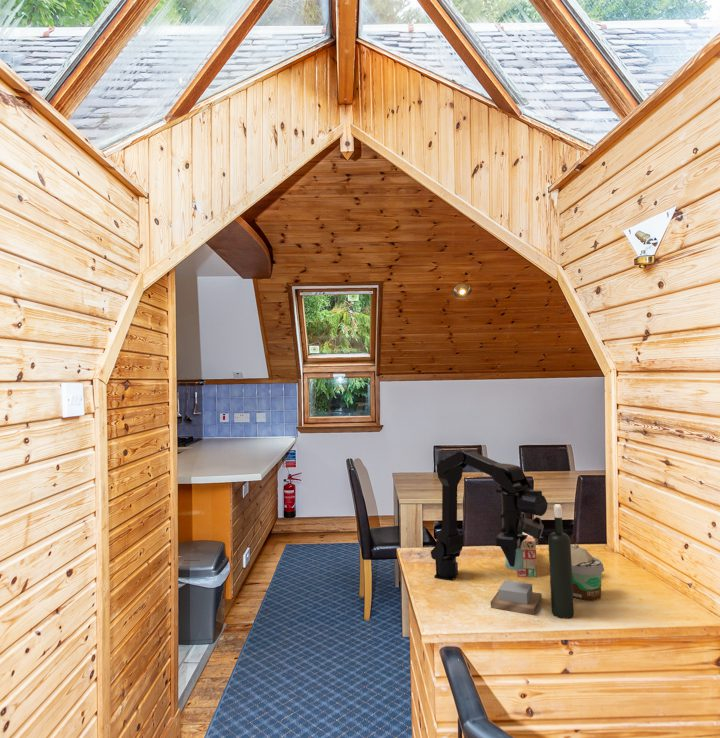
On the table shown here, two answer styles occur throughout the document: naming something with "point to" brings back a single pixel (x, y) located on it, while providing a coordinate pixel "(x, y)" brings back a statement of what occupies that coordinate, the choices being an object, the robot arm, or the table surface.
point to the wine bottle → (560, 569)
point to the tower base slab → (518, 604)
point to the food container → (587, 580)
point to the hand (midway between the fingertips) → (514, 563)
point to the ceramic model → (579, 555)
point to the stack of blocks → (528, 558)
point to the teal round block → (516, 561)
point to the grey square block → (515, 592)
